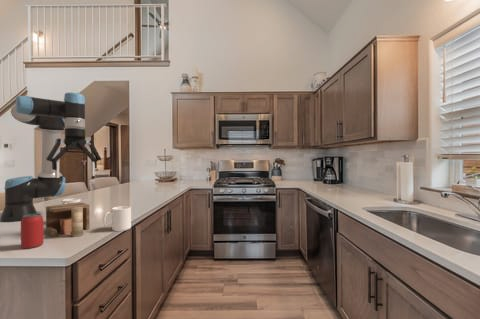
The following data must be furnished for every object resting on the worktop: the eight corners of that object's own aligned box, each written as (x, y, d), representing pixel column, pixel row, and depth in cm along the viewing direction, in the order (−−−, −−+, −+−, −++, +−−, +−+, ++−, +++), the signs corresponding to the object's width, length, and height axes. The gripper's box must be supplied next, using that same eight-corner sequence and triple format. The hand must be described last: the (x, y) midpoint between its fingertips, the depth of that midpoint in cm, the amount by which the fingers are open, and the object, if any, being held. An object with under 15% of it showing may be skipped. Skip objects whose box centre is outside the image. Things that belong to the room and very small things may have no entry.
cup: (133, 229, 116) (133, 208, 116) (104, 234, 108) (104, 211, 108) (128, 225, 122) (128, 205, 122) (101, 229, 115) (101, 208, 115)
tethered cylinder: (60, 231, 112) (60, 205, 112) (75, 228, 117) (75, 203, 116) (71, 238, 103) (70, 209, 103) (86, 234, 108) (86, 207, 108)
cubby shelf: (46, 231, 112) (45, 206, 112) (80, 225, 123) (80, 202, 123) (53, 236, 105) (53, 209, 105) (89, 229, 116) (89, 204, 116)
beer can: (29, 243, 97) (29, 213, 97) (47, 242, 98) (47, 212, 97) (16, 249, 90) (15, 217, 90) (35, 248, 91) (34, 216, 91)
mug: (67, 226, 121) (67, 202, 121) (51, 225, 122) (51, 202, 122) (84, 220, 133) (84, 198, 133) (70, 219, 134) (70, 198, 134)
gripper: (42, 124, 95) (42, 178, 95) (108, 130, 115) (109, 175, 115) (36, 126, 100) (37, 178, 100) (101, 131, 120) (102, 175, 119)
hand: (75, 176), depth 107 cm, fingers open, 13 cm apart
